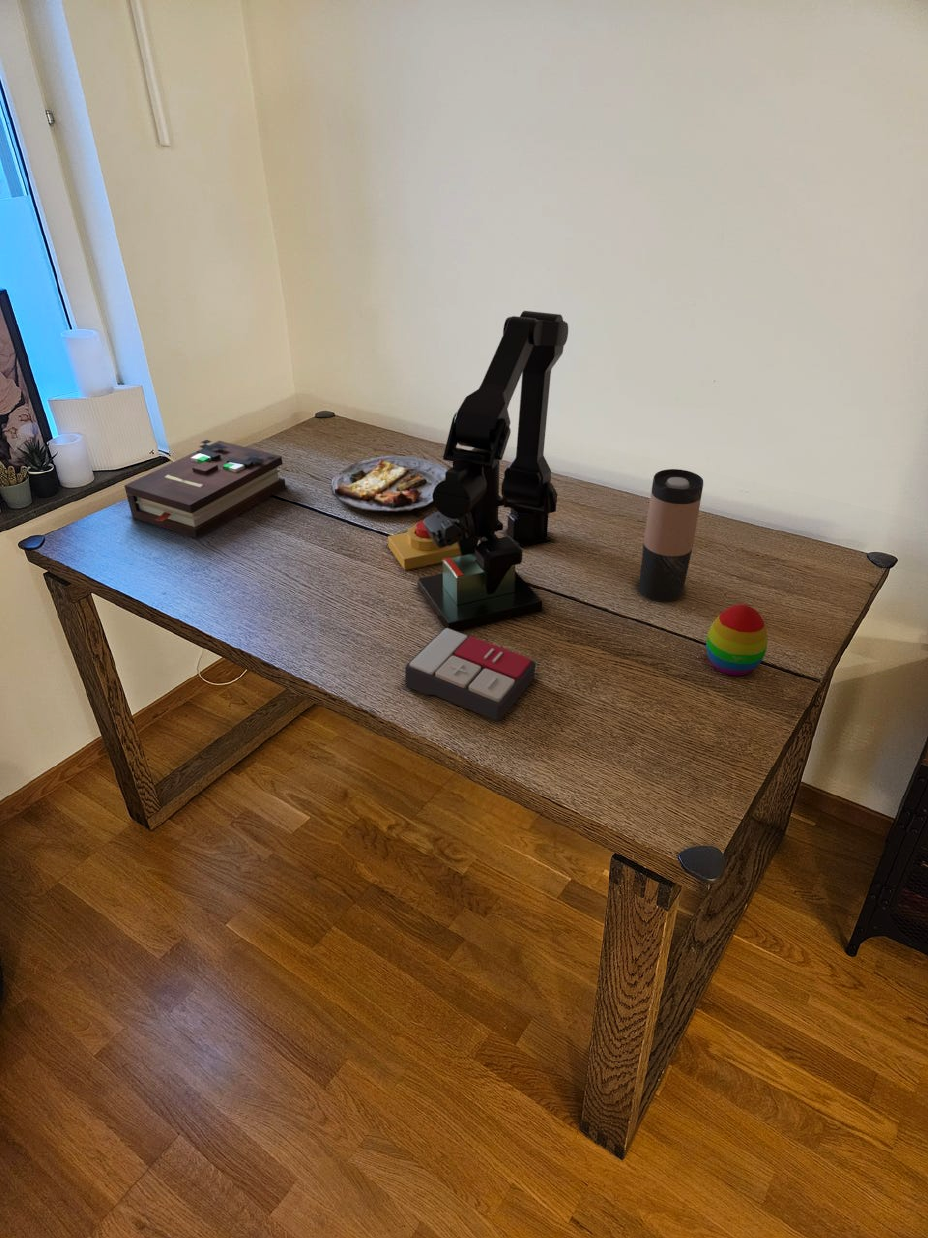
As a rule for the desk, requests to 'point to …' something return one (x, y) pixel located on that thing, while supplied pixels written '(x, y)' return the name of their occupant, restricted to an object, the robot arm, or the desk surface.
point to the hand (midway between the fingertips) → (478, 579)
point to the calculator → (470, 673)
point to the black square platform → (478, 604)
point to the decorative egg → (737, 640)
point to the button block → (419, 550)
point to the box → (471, 580)
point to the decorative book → (205, 488)
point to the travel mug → (669, 533)
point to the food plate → (388, 483)
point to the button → (421, 530)
